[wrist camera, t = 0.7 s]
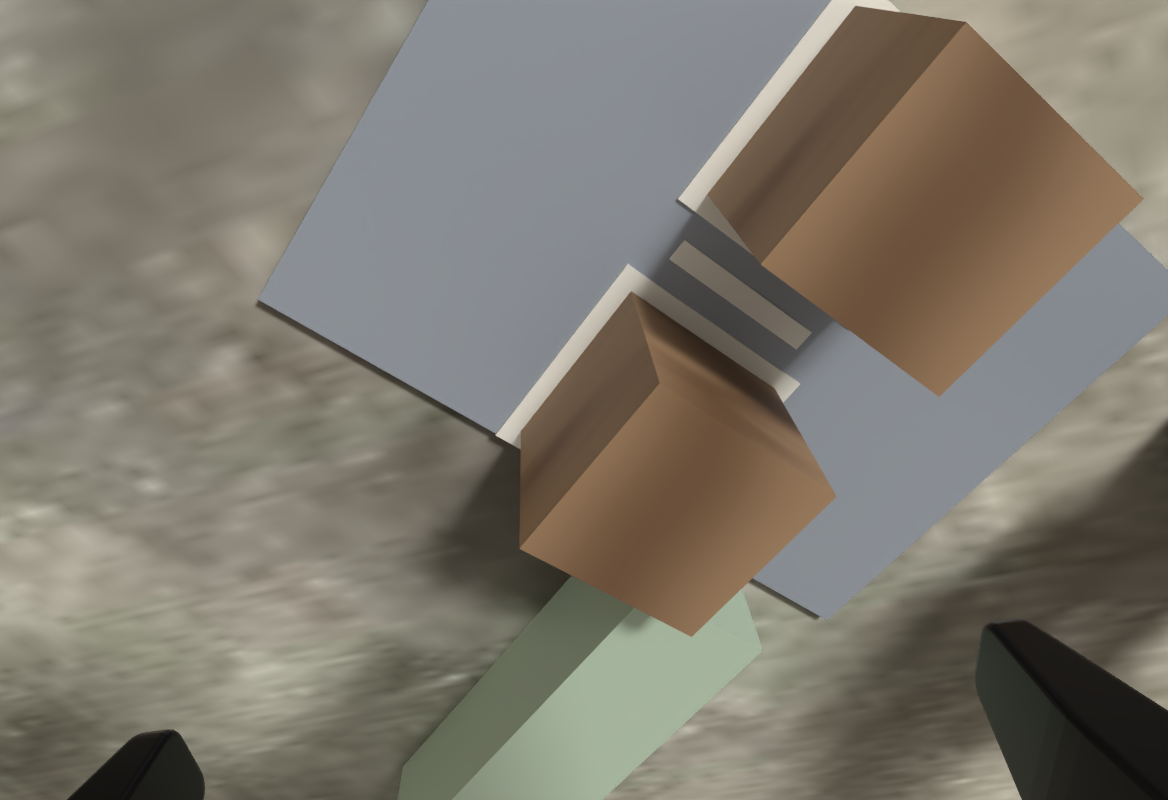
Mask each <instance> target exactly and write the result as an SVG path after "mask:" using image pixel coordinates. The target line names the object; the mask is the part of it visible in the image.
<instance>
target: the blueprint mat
mask: <svg viewBox="0 0 1168 800" xmlns="http://www.w3.org/2000/svg"><path fill="white" fill-rule="evenodd" d="M855 6H861V7H868V8H875V9H881V10H888V11H895V12H900V11H899V10H898V9H897V8H896V7H895V6H894V5H893V4H892V3H891V2H890V1H889V0H428V2H427V4H426V5H425V7H424V9H423V11H422V12H421V14H420V16H419V18H418V19H417V21H416V23H415V25H414V26H413V28H412V30H411V32H410V33H409V35H408V37H407V39H406V40H405V42H404V44H403V46H402V47H401V49H400V51H399V53H398V54H397V56H396V58H395V60H394V62H393V63H392V65H391V67H390V69H389V70H388V72H387V74H386V76H385V77H384V79H383V81H382V83H381V84H380V86H379V88H378V90H377V91H376V93H375V95H374V97H373V98H372V100H371V102H370V104H369V105H368V107H367V109H366V111H365V112H364V114H363V116H362V118H361V119H360V121H359V123H358V125H357V126H356V128H355V130H354V132H353V133H352V135H351V137H350V139H349V140H348V142H347V144H346V146H345V147H344V149H343V151H342V153H341V154H340V156H339V158H338V160H337V161H336V163H335V165H334V167H333V168H332V170H331V172H330V174H329V176H328V177H327V179H326V181H325V183H324V184H323V186H322V188H321V190H320V191H319V193H318V195H317V197H316V198H315V200H314V202H313V204H312V205H311V207H310V209H309V211H308V212H307V214H306V216H305V218H304V219H303V221H302V223H301V225H300V226H299V228H298V230H297V232H296V233H295V235H294V237H293V239H292V240H291V242H290V244H289V246H288V247H287V249H286V251H285V253H284V254H283V256H282V258H281V260H280V261H279V263H278V265H277V267H276V268H275V270H274V272H273V274H272V275H271V277H270V279H269V281H268V282H267V284H266V286H265V288H264V290H263V291H262V293H261V295H260V297H259V298H258V300H260V301H261V302H263V303H265V304H267V305H269V306H270V307H272V308H274V309H276V310H277V311H279V312H281V313H283V314H284V315H286V316H288V317H290V318H292V319H293V320H295V321H297V322H299V323H300V324H302V325H304V326H306V327H308V328H309V329H311V330H313V331H315V332H316V333H318V334H320V335H322V336H324V337H325V338H327V339H329V340H331V341H332V342H334V343H336V344H338V345H339V346H341V347H343V348H345V349H347V350H348V351H350V352H352V353H354V354H355V355H357V356H359V357H361V358H363V359H364V360H366V361H368V362H370V363H371V364H373V365H375V366H377V367H379V368H380V369H382V370H384V371H386V372H387V373H389V374H391V375H393V376H394V377H396V378H398V379H400V380H402V381H403V382H405V383H407V384H409V385H410V386H412V387H414V388H416V389H418V390H419V391H421V392H423V393H425V394H426V395H428V396H430V397H432V398H434V399H435V400H437V401H439V402H441V403H442V404H444V405H446V406H448V407H449V408H451V409H453V410H455V411H457V412H458V413H460V414H462V415H464V416H465V417H467V418H469V419H471V420H473V421H474V422H476V423H478V424H480V425H481V426H483V427H485V428H487V429H489V430H490V431H492V432H494V433H496V436H497V437H499V438H501V439H503V440H505V441H506V442H508V443H510V444H512V445H513V446H515V447H517V448H519V449H521V430H522V429H523V428H524V427H525V425H526V424H527V423H528V422H529V420H530V419H531V418H532V416H533V415H534V414H535V413H536V411H537V410H538V409H539V408H540V406H541V405H542V404H543V402H544V401H545V400H546V399H547V397H548V396H549V395H550V394H551V392H552V391H553V390H554V388H555V387H556V386H557V385H558V383H559V382H560V381H561V380H562V378H563V377H564V376H565V374H566V373H567V372H568V371H569V369H570V368H571V367H572V366H573V364H574V363H575V362H576V360H577V359H578V358H579V357H580V355H581V354H582V353H583V352H584V350H585V349H586V348H587V346H588V345H589V344H590V343H591V341H592V340H593V339H594V338H595V336H596V335H597V334H598V332H599V331H600V330H601V329H602V327H603V326H604V325H605V324H606V322H607V321H608V320H609V318H610V317H611V316H612V315H613V313H614V312H615V311H616V310H617V308H618V307H619V306H620V304H621V303H622V302H623V301H624V299H625V298H626V297H627V296H628V294H629V293H630V292H631V291H632V292H633V293H635V294H636V295H638V296H639V297H641V298H642V299H644V300H645V301H647V302H648V303H649V304H651V305H652V306H654V307H655V308H657V309H658V310H660V311H661V312H663V313H664V314H666V315H667V316H669V317H670V318H672V319H673V320H675V321H676V322H677V323H679V324H680V325H682V326H683V327H685V328H686V329H688V330H689V331H691V332H692V333H694V334H695V335H697V336H698V337H700V338H701V339H703V340H704V341H705V342H707V343H708V344H710V345H711V346H713V347H714V348H716V349H717V350H719V351H720V352H722V353H723V354H725V355H726V356H728V357H729V358H731V359H732V360H733V361H735V362H736V363H738V364H739V365H741V366H742V367H744V368H745V369H747V370H748V371H750V372H751V373H753V374H754V375H756V376H757V377H759V378H760V379H761V380H763V381H764V382H766V383H767V384H769V385H770V386H772V387H773V388H775V390H776V391H777V393H778V395H779V397H780V398H781V400H782V402H783V404H784V405H785V407H786V409H787V411H788V412H789V414H790V416H791V418H792V419H793V421H794V423H795V425H796V426H797V428H798V430H799V432H800V433H801V435H802V437H803V439H804V440H805V442H806V444H807V446H808V447H809V449H810V451H811V453H812V454H813V456H814V458H815V459H816V461H817V463H818V465H819V466H820V468H821V470H822V472H823V473H824V475H825V477H826V479H827V480H828V482H829V484H830V486H831V487H832V489H833V491H834V493H835V494H836V496H837V497H836V498H835V499H834V500H833V501H832V502H830V503H829V504H828V505H827V506H826V507H825V508H824V509H823V510H822V511H821V512H820V513H819V514H818V515H817V516H816V517H815V518H814V519H813V520H812V521H811V522H810V523H809V524H808V525H807V526H806V527H805V528H804V529H803V530H802V531H801V532H800V533H799V534H797V535H796V536H795V537H794V538H793V539H792V540H791V541H790V542H789V543H788V544H787V545H786V546H785V547H784V548H783V549H782V550H781V551H780V552H779V553H778V554H777V555H776V556H775V557H774V558H773V559H772V560H771V561H770V562H769V563H768V564H767V565H766V566H764V567H763V568H762V569H761V570H760V571H759V572H758V573H757V574H756V575H755V576H754V577H753V579H755V580H756V581H758V582H760V583H762V584H764V585H765V586H767V587H769V588H771V589H772V590H774V591H776V592H778V593H779V594H781V595H783V596H785V597H787V598H788V599H790V600H792V601H794V602H795V603H797V604H799V605H801V606H803V607H804V608H806V609H808V610H810V611H811V612H813V613H815V614H817V615H819V616H820V617H822V618H824V619H826V620H828V619H829V618H830V617H831V616H832V615H833V614H835V613H836V612H837V611H838V610H839V609H840V608H841V607H842V606H844V605H845V604H846V603H847V602H848V601H849V600H850V599H851V598H852V597H854V596H855V595H856V594H857V593H858V592H859V591H860V590H861V589H863V588H864V587H865V586H866V585H867V584H868V583H869V582H870V581H871V580H873V579H874V578H875V577H876V576H877V575H878V574H879V573H880V572H882V571H883V570H884V569H885V568H886V567H887V566H888V565H889V564H890V563H892V562H893V561H894V560H895V559H896V558H897V557H898V556H899V555H900V554H902V553H903V552H904V551H905V550H906V549H907V548H908V547H909V546H911V545H912V544H913V543H914V542H915V541H916V540H917V539H918V538H919V537H921V536H922V535H923V534H924V533H925V532H926V531H927V530H928V529H930V528H931V527H932V526H933V525H934V524H935V523H936V522H937V521H938V520H940V519H941V518H942V517H943V516H944V515H945V514H946V513H947V512H949V511H950V510H951V509H952V508H953V507H954V506H955V505H956V504H957V503H959V502H960V501H961V500H962V499H963V498H964V497H965V496H966V495H967V494H969V493H970V492H971V491H972V490H973V489H974V488H975V487H976V486H978V485H979V484H980V483H981V482H982V481H983V480H984V479H985V478H986V477H988V476H989V475H990V474H991V473H992V472H993V471H994V470H995V469H997V468H998V467H999V466H1000V465H1001V464H1002V463H1003V462H1004V461H1005V460H1007V459H1008V458H1009V457H1010V456H1011V455H1012V454H1013V453H1014V452H1016V451H1017V450H1018V449H1019V448H1020V447H1021V446H1022V445H1023V444H1024V443H1026V442H1027V441H1028V440H1029V439H1030V438H1031V437H1032V436H1033V435H1035V434H1036V433H1037V432H1038V431H1039V430H1040V429H1041V428H1042V427H1043V426H1045V425H1046V424H1047V423H1048V422H1049V421H1050V420H1051V419H1052V418H1053V417H1055V416H1056V415H1057V414H1058V413H1059V412H1060V411H1061V410H1062V409H1064V408H1065V407H1066V406H1067V405H1068V404H1069V403H1070V402H1071V401H1072V400H1074V399H1075V398H1076V397H1077V396H1078V395H1079V394H1080V393H1081V392H1083V391H1084V390H1085V389H1086V388H1087V387H1088V386H1089V385H1090V384H1091V383H1093V382H1094V381H1095V380H1096V379H1097V378H1098V377H1099V376H1100V375H1102V374H1103V373H1104V372H1105V371H1106V370H1107V369H1108V368H1109V367H1110V366H1112V365H1113V364H1114V363H1115V362H1116V361H1117V360H1118V359H1119V358H1120V357H1122V356H1123V355H1124V354H1125V353H1126V352H1127V351H1128V350H1129V349H1131V348H1132V347H1133V346H1134V345H1135V344H1136V343H1137V342H1138V341H1139V340H1141V339H1142V338H1143V337H1144V336H1145V335H1146V334H1147V333H1148V332H1150V331H1151V330H1152V329H1153V328H1154V327H1155V326H1156V325H1157V324H1158V323H1160V322H1161V321H1162V320H1163V319H1164V318H1165V317H1166V316H1167V315H1168V270H1167V269H1166V268H1165V267H1164V266H1163V265H1162V264H1161V263H1160V262H1159V261H1157V260H1156V259H1155V258H1154V257H1153V256H1152V255H1151V254H1150V253H1149V252H1148V251H1147V250H1146V249H1145V248H1144V247H1143V246H1142V245H1141V244H1140V243H1139V242H1138V241H1137V240H1136V239H1135V238H1134V237H1132V236H1131V235H1130V234H1129V233H1128V232H1127V231H1126V230H1125V229H1124V228H1123V227H1122V226H1121V225H1120V224H1119V223H1118V224H1117V225H1116V226H1115V227H1114V228H1113V229H1112V230H1111V231H1110V232H1109V233H1108V234H1107V235H1106V236H1105V237H1104V238H1103V239H1102V240H1101V241H1100V242H1099V243H1098V244H1096V245H1095V246H1094V247H1093V248H1092V249H1091V250H1090V251H1089V252H1088V253H1087V254H1086V255H1085V256H1084V257H1083V258H1082V259H1081V260H1080V261H1079V262H1078V263H1077V264H1076V265H1075V266H1074V267H1073V268H1072V269H1071V270H1070V271H1069V272H1068V273H1067V274H1066V275H1065V276H1064V277H1062V278H1061V279H1060V280H1059V281H1058V282H1057V283H1056V284H1055V285H1054V286H1053V287H1052V288H1051V289H1050V290H1049V291H1048V292H1047V293H1046V294H1045V295H1044V296H1043V297H1042V298H1041V299H1040V300H1039V301H1038V302H1037V303H1036V304H1035V305H1034V306H1033V307H1032V308H1031V309H1029V310H1028V311H1027V312H1026V313H1025V314H1024V315H1023V316H1022V317H1021V318H1020V319H1019V320H1018V321H1017V322H1016V323H1015V324H1014V325H1013V326H1012V327H1011V328H1010V329H1009V330H1008V331H1007V332H1006V333H1005V334H1004V335H1003V336H1002V337H1001V338H1000V339H999V340H998V341H996V342H995V343H994V344H993V345H992V346H991V347H990V348H989V349H988V350H987V351H986V352H985V353H984V354H983V355H982V356H981V357H980V358H979V359H978V360H977V361H976V362H975V363H974V364H973V365H972V366H971V367H970V368H969V369H968V370H967V371H966V372H965V373H963V374H962V375H961V376H960V377H959V378H958V379H957V380H956V381H955V382H954V383H953V384H952V385H951V386H950V387H949V388H948V389H947V390H946V391H945V392H944V393H943V394H942V395H941V396H940V397H938V396H937V395H936V394H934V393H933V392H932V391H930V390H929V389H927V388H926V387H925V386H923V385H922V384H921V383H919V382H918V381H917V380H915V379H914V378H913V377H911V376H910V375H909V374H907V373H906V372H905V371H903V370H902V369H901V368H899V367H898V366H897V365H895V364H894V363H892V362H891V361H890V360H888V359H887V358H886V357H884V356H883V355H882V354H880V353H879V352H878V351H876V350H875V349H874V348H872V347H871V346H870V345H868V344H867V343H866V342H864V341H863V340H862V339H860V338H859V337H858V336H856V335H855V334H853V333H852V332H851V331H849V330H848V329H847V328H845V327H844V326H843V325H841V324H840V323H839V322H837V321H836V320H835V319H833V318H832V317H831V316H829V315H828V314H827V313H825V312H824V311H823V310H821V309H820V308H819V307H817V306H816V305H814V304H813V303H812V302H810V301H809V300H808V299H806V298H805V297H804V296H802V295H801V294H800V293H798V292H797V291H796V290H794V289H793V288H792V287H790V286H789V285H788V284H786V283H785V282H784V281H782V280H781V279H780V278H778V277H777V276H775V275H774V274H773V273H771V272H770V271H769V270H767V269H766V268H765V267H763V266H762V265H761V264H760V263H759V262H758V260H757V259H756V258H755V256H754V255H753V254H752V252H751V251H750V250H749V248H748V247H747V246H746V245H745V243H744V242H743V241H742V239H741V238H740V237H739V235H738V234H737V233H736V231H735V230H734V229H733V227H732V226H731V225H730V223H729V222H728V221H727V219H726V218H725V217H724V216H723V214H722V213H721V212H720V210H719V209H718V208H717V206H716V205H715V204H714V202H713V201H712V200H711V198H710V197H709V196H708V193H709V191H710V190H711V189H712V187H713V186H714V185H715V184H716V182H717V181H718V180H719V179H720V177H721V176H722V175H723V173H724V172H725V171H726V170H727V168H728V167H729V166H730V165H731V163H732V162H733V161H734V160H735V158H736V157H737V156H738V154H739V153H740V152H741V151H742V149H743V148H744V147H745V146H746V144H747V143H748V142H749V140H750V139H751V138H752V137H753V135H754V134H755V133H756V132H757V130H758V129H759V128H760V126H761V125H762V124H763V123H764V121H765V120H766V119H767V118H768V116H769V115H770V114H771V112H772V111H773V110H774V109H775V107H776V106H777V105H778V104H779V102H780V101H781V100H782V98H783V97H784V96H785V95H786V93H787V92H788V91H789V90H790V88H791V87H792V86H793V84H794V83H795V82H796V81H797V79H798V78H799V77H800V76H801V74H802V73H803V72H804V70H805V69H806V68H807V67H808V65H809V64H810V63H811V62H812V60H813V59H814V58H815V56H816V55H817V54H818V53H819V51H820V50H821V49H822V48H823V46H824V45H825V44H826V42H827V41H828V40H829V39H830V37H831V36H832V35H833V34H834V32H835V31H836V30H837V29H838V27H839V26H840V25H841V23H842V22H843V21H844V20H845V18H846V17H847V16H848V15H849V13H850V12H851V11H852V9H853V8H854V7H855Z"/></svg>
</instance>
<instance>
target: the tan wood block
mask: <svg viewBox="0 0 1168 800" xmlns="http://www.w3.org/2000/svg"><path fill="white" fill-rule="evenodd" d="M836 497H837V496H836V494H835V493H834V491H833V489H832V487H831V486H830V484H829V482H828V480H827V479H826V477H825V475H824V473H823V472H822V470H821V468H820V466H819V465H818V463H817V461H816V459H815V458H814V456H813V454H812V453H811V451H810V449H809V447H808V446H807V444H806V442H805V440H804V439H803V437H802V435H801V433H800V432H799V430H798V428H797V426H796V425H795V423H794V421H793V419H792V418H791V416H790V414H789V412H788V411H787V409H786V407H785V405H784V404H783V402H782V400H781V398H780V397H779V395H778V393H777V391H776V390H775V388H773V387H772V386H770V385H769V384H767V383H766V382H764V381H763V380H761V379H760V378H759V377H757V376H756V375H754V374H753V373H751V372H750V371H748V370H747V369H745V368H744V367H742V366H741V365H739V364H738V363H736V362H735V361H733V360H732V359H731V358H729V357H728V356H726V355H725V354H723V353H722V352H720V351H719V350H717V349H716V348H714V347H713V346H711V345H710V344H708V343H707V342H705V341H704V340H703V339H701V338H700V337H698V336H697V335H695V334H694V333H692V332H691V331H689V330H688V329H686V328H685V327H683V326H682V325H680V324H679V323H677V322H676V321H675V320H673V319H672V318H670V317H669V316H667V315H666V314H664V313H663V312H661V311H660V310H658V309H657V308H655V307H654V306H652V305H651V304H649V303H648V302H647V301H645V300H644V299H642V298H641V297H639V296H638V295H636V294H635V293H633V292H632V291H631V292H630V293H629V294H628V296H627V297H626V298H625V299H624V301H623V302H622V303H621V304H620V306H619V307H618V308H617V310H616V311H615V312H614V313H613V315H612V316H611V317H610V318H609V320H608V321H607V322H606V324H605V325H604V326H603V327H602V329H601V330H600V331H599V332H598V334H597V335H596V336H595V338H594V339H593V340H592V341H591V343H590V344H589V345H588V346H587V348H586V349H585V350H584V352H583V353H582V354H581V355H580V357H579V358H578V359H577V360H576V362H575V363H574V364H573V366H572V367H571V368H570V369H569V371H568V372H567V373H566V374H565V376H564V377H563V378H562V380H561V381H560V382H559V383H558V385H557V386H556V387H555V388H554V390H553V391H552V392H551V394H550V395H549V396H548V397H547V399H546V400H545V401H544V402H543V404H542V405H541V406H540V408H539V409H538V410H537V411H536V413H535V414H534V415H533V416H532V418H531V419H530V420H529V422H528V423H527V424H526V425H525V427H524V428H523V429H522V430H521V457H520V533H519V549H521V550H523V551H525V552H527V553H529V554H531V555H532V556H534V557H536V558H538V559H540V560H542V561H544V562H546V563H548V564H550V565H552V566H554V567H556V568H558V569H560V570H562V571H564V572H566V573H568V574H570V575H571V576H573V577H575V578H577V579H579V580H581V581H583V582H585V583H587V584H589V585H591V586H593V587H595V588H597V589H599V590H601V591H603V592H605V593H607V594H609V595H610V596H612V597H614V598H616V599H618V600H620V601H622V602H624V603H626V604H628V605H630V606H632V607H634V608H636V609H638V610H640V611H642V612H644V613H646V614H648V615H649V616H651V617H653V618H655V619H657V620H659V621H661V622H663V623H665V624H667V625H669V626H671V627H673V628H675V629H677V630H679V631H681V632H683V633H685V634H687V635H688V636H690V637H692V636H693V635H694V634H695V633H696V632H697V631H699V630H700V629H701V628H702V627H703V626H704V625H705V624H706V623H707V622H708V621H709V620H710V619H711V618H712V617H713V616H714V615H715V614H716V613H717V612H718V611H719V610H720V609H721V608H722V607H723V606H724V605H725V604H726V603H727V602H728V601H729V600H730V599H732V598H733V597H734V596H735V595H736V594H737V593H738V592H739V591H740V590H741V589H742V588H743V587H744V586H745V585H746V584H747V583H748V582H749V581H750V580H751V579H752V578H753V577H754V576H755V575H756V574H757V573H758V572H759V571H760V570H761V569H762V568H763V567H764V566H766V565H767V564H768V563H769V562H770V561H771V560H772V559H773V558H774V557H775V556H776V555H777V554H778V553H779V552H780V551H781V550H782V549H783V548H784V547H785V546H786V545H787V544H788V543H789V542H790V541H791V540H792V539H793V538H794V537H795V536H796V535H797V534H799V533H800V532H801V531H802V530H803V529H804V528H805V527H806V526H807V525H808V524H809V523H810V522H811V521H812V520H813V519H814V518H815V517H816V516H817V515H818V514H819V513H820V512H821V511H822V510H823V509H824V508H825V507H826V506H827V505H828V504H829V503H830V502H832V501H833V500H834V499H835V498H836Z"/></svg>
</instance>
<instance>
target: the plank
mask: <svg viewBox="0 0 1168 800" xmlns="http://www.w3.org/2000/svg"><path fill="white" fill-rule="evenodd" d="M762 651H763V649H762V646H761V644H760V641H759V638H758V635H757V632H756V629H755V626H754V623H753V620H752V617H751V614H750V611H749V608H748V605H747V602H746V599H745V596H744V593H743V590H742V589H741V590H740V591H739V592H738V593H737V594H736V595H735V596H734V597H733V598H732V599H730V600H729V601H728V602H727V603H726V604H725V605H724V606H723V607H722V608H721V609H720V610H719V611H718V612H717V613H716V614H715V615H714V616H713V617H712V618H711V619H710V620H709V621H708V622H707V623H706V624H705V625H704V626H703V627H702V628H701V629H700V630H699V631H697V632H696V633H695V634H694V635H693V636H692V637H690V636H688V635H687V634H685V633H683V632H681V631H679V630H677V629H675V628H673V627H671V626H669V625H667V624H665V623H663V622H661V621H659V620H657V619H655V618H653V617H651V616H649V615H648V614H646V613H644V612H642V611H640V610H638V609H636V608H634V607H632V606H630V605H628V604H626V603H624V602H622V601H620V600H618V599H616V598H614V597H612V596H610V595H609V594H607V593H605V592H603V591H601V590H599V589H597V588H595V587H593V586H591V585H589V584H587V583H585V582H583V581H581V580H579V579H577V578H575V577H573V576H571V577H570V578H569V579H568V580H567V581H566V582H565V584H564V585H563V586H562V587H561V588H560V589H559V590H558V592H557V593H556V594H555V595H554V596H553V597H552V598H551V599H550V601H549V602H548V603H547V604H546V605H545V606H544V607H543V609H542V610H541V611H540V612H539V613H538V614H537V615H536V616H535V618H534V619H533V620H532V621H531V622H530V623H529V624H528V625H527V627H526V628H525V629H524V630H523V631H522V632H521V633H520V635H519V636H518V637H517V638H516V639H515V640H514V641H513V642H512V644H511V645H510V646H509V647H508V648H507V649H506V650H505V651H504V653H503V654H502V655H501V656H500V657H499V658H498V659H497V661H496V662H495V663H494V664H493V665H492V666H491V667H490V668H489V670H488V671H487V672H486V673H485V674H484V675H483V676H482V678H481V679H480V680H479V681H478V682H477V683H476V684H475V685H474V687H473V688H472V689H471V690H470V691H469V692H468V693H467V694H466V696H465V697H464V698H463V699H462V700H461V701H460V702H459V704H458V705H457V706H456V707H455V708H454V709H453V710H452V711H451V713H450V714H449V715H448V716H447V717H446V718H445V719H444V721H443V722H442V723H441V724H440V725H439V726H438V727H437V728H436V730H435V731H434V732H433V733H432V734H431V735H430V736H429V737H428V739H427V740H426V741H425V742H424V743H423V744H422V745H421V747H420V748H419V749H418V750H417V751H416V752H415V753H414V754H413V756H412V757H411V758H410V759H409V760H408V761H407V762H406V764H405V765H404V766H403V768H402V775H401V781H400V788H399V794H398V800H602V799H603V798H604V797H606V796H607V795H608V794H609V793H610V792H611V791H612V790H613V789H614V788H615V787H616V786H617V785H618V784H620V783H621V782H622V781H623V780H624V779H625V778H626V777H627V776H628V775H629V774H630V773H631V772H632V771H634V770H635V769H636V768H637V767H638V766H639V765H640V764H641V763H642V762H643V761H644V760H645V759H646V758H648V757H649V756H650V755H651V754H652V753H653V752H654V751H655V750H656V749H657V748H658V747H659V746H660V745H662V744H663V743H664V742H665V741H666V740H667V739H668V738H669V737H670V736H671V735H672V734H673V733H674V732H676V731H677V730H678V729H679V728H680V727H681V726H682V725H683V724H684V723H685V722H686V721H687V720H688V719H690V718H691V717H692V716H693V715H694V714H695V713H696V712H697V711H698V710H699V709H700V708H701V707H702V706H704V705H705V704H706V703H707V702H708V701H709V700H710V699H711V698H712V697H713V696H714V695H715V694H716V693H717V692H719V691H720V690H721V689H722V688H723V687H724V686H725V685H726V684H727V683H728V682H729V681H730V680H731V679H733V678H734V677H735V676H736V675H737V674H738V673H739V672H740V671H741V670H742V669H743V668H744V667H745V666H747V665H748V664H749V663H750V662H751V661H752V660H753V659H754V658H755V657H756V656H757V655H758V654H759V653H761V652H762Z"/></svg>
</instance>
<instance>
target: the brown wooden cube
mask: <svg viewBox="0 0 1168 800" xmlns="http://www.w3.org/2000/svg"><path fill="white" fill-rule="evenodd" d="M708 196H709V197H710V198H711V200H712V201H713V202H714V204H715V205H716V206H717V208H718V209H719V210H720V212H721V213H722V214H723V216H724V217H725V218H726V219H727V221H728V222H729V223H730V225H731V226H732V227H733V229H734V230H735V231H736V233H737V234H738V235H739V237H740V238H741V239H742V241H743V242H744V243H745V245H746V246H747V247H748V248H749V250H750V251H751V252H752V254H753V255H754V256H755V258H756V259H757V260H758V262H759V263H760V264H761V265H762V266H763V267H765V268H766V269H767V270H769V271H770V272H771V273H773V274H774V275H775V276H777V277H778V278H780V279H781V280H782V281H784V282H785V283H786V284H788V285H789V286H790V287H792V288H793V289H794V290H796V291H797V292H798V293H800V294H801V295H802V296H804V297H805V298H806V299H808V300H809V301H810V302H812V303H813V304H814V305H816V306H817V307H819V308H820V309H821V310H823V311H824V312H825V313H827V314H828V315H829V316H831V317H832V318H833V319H835V320H836V321H837V322H839V323H840V324H841V325H843V326H844V327H845V328H847V329H848V330H849V331H851V332H852V333H853V334H855V335H856V336H858V337H859V338H860V339H862V340H863V341H864V342H866V343H867V344H868V345H870V346H871V347H872V348H874V349H875V350H876V351H878V352H879V353H880V354H882V355H883V356H884V357H886V358H887V359H888V360H890V361H891V362H892V363H894V364H895V365H897V366H898V367H899V368H901V369H902V370H903V371H905V372H906V373H907V374H909V375H910V376H911V377H913V378H914V379H915V380H917V381H918V382H919V383H921V384H922V385H923V386H925V387H926V388H927V389H929V390H930V391H932V392H933V393H934V394H936V395H937V396H938V397H940V396H941V395H942V394H943V393H944V392H945V391H946V390H947V389H948V388H949V387H950V386H951V385H952V384H953V383H954V382H955V381H956V380H957V379H958V378H959V377H960V376H961V375H962V374H963V373H965V372H966V371H967V370H968V369H969V368H970V367H971V366H972V365H973V364H974V363H975V362H976V361H977V360H978V359H979V358H980V357H981V356H982V355H983V354H984V353H985V352H986V351H987V350H988V349H989V348H990V347H991V346H992V345H993V344H994V343H995V342H996V341H998V340H999V339H1000V338H1001V337H1002V336H1003V335H1004V334H1005V333H1006V332H1007V331H1008V330H1009V329H1010V328H1011V327H1012V326H1013V325H1014V324H1015V323H1016V322H1017V321H1018V320H1019V319H1020V318H1021V317H1022V316H1023V315H1024V314H1025V313H1026V312H1027V311H1028V310H1029V309H1031V308H1032V307H1033V306H1034V305H1035V304H1036V303H1037V302H1038V301H1039V300H1040V299H1041V298H1042V297H1043V296H1044V295H1045V294H1046V293H1047V292H1048V291H1049V290H1050V289H1051V288H1052V287H1053V286H1054V285H1055V284H1056V283H1057V282H1058V281H1059V280H1060V279H1061V278H1062V277H1064V276H1065V275H1066V274H1067V273H1068V272H1069V271H1070V270H1071V269H1072V268H1073V267H1074V266H1075V265H1076V264H1077V263H1078V262H1079V261H1080V260H1081V259H1082V258H1083V257H1084V256H1085V255H1086V254H1087V253H1088V252H1089V251H1090V250H1091V249H1092V248H1093V247H1094V246H1095V245H1096V244H1098V243H1099V242H1100V241H1101V240H1102V239H1103V238H1104V237H1105V236H1106V235H1107V234H1108V233H1109V232H1110V231H1111V230H1112V229H1113V228H1114V227H1115V226H1116V225H1117V224H1118V223H1119V222H1120V221H1121V220H1122V219H1123V218H1124V217H1125V216H1126V215H1127V214H1128V213H1129V212H1131V211H1132V210H1133V209H1134V208H1135V207H1136V206H1137V205H1138V204H1139V203H1140V202H1141V201H1142V200H1143V198H1142V197H1141V196H1140V195H1139V194H1138V193H1137V192H1136V191H1135V190H1134V189H1133V188H1132V187H1131V186H1130V185H1129V184H1128V183H1127V182H1126V181H1125V180H1124V179H1123V178H1122V177H1121V176H1120V175H1119V174H1118V173H1117V172H1116V171H1115V170H1114V169H1113V168H1112V167H1111V166H1110V165H1109V164H1108V163H1107V162H1106V161H1105V160H1104V159H1103V158H1102V157H1101V156H1100V155H1099V154H1098V153H1097V152H1096V151H1095V150H1094V149H1093V148H1092V147H1091V146H1090V145H1089V144H1088V143H1087V142H1086V141H1085V140H1084V139H1083V138H1082V137H1081V136H1080V135H1079V134H1078V133H1077V132H1076V131H1075V130H1074V129H1073V128H1072V127H1071V126H1070V125H1069V124H1068V123H1067V122H1066V121H1065V120H1064V119H1063V118H1062V117H1061V116H1060V115H1059V114H1058V113H1057V112H1056V111H1055V110H1054V109H1053V108H1052V107H1051V106H1050V105H1049V104H1048V103H1047V102H1046V101H1045V100H1044V99H1043V98H1042V97H1041V96H1040V95H1039V94H1038V93H1037V92H1036V91H1035V90H1034V89H1033V88H1032V87H1031V86H1030V85H1029V84H1028V83H1027V82H1026V81H1025V80H1024V79H1023V78H1022V77H1021V76H1020V75H1019V74H1018V73H1017V72H1016V71H1015V70H1014V69H1013V68H1012V67H1011V66H1010V65H1009V64H1008V63H1007V62H1006V61H1005V60H1004V59H1003V58H1002V57H1001V56H1000V55H999V54H998V53H997V52H996V51H995V50H994V49H993V48H992V47H991V46H990V45H989V44H988V43H987V42H986V41H985V40H984V39H983V38H982V37H981V36H980V35H979V34H978V33H977V32H976V31H975V30H974V29H973V28H972V27H971V26H970V25H969V24H968V23H967V22H962V21H955V20H948V19H942V18H935V17H928V16H922V15H915V14H908V13H901V12H895V11H888V10H881V9H875V8H868V7H861V6H855V7H854V8H853V9H852V11H851V12H850V13H849V15H848V16H847V17H846V18H845V20H844V21H843V22H842V23H841V25H840V26H839V27H838V29H837V30H836V31H835V32H834V34H833V35H832V36H831V37H830V39H829V40H828V41H827V42H826V44H825V45H824V46H823V48H822V49H821V50H820V51H819V53H818V54H817V55H816V56H815V58H814V59H813V60H812V62H811V63H810V64H809V65H808V67H807V68H806V69H805V70H804V72H803V73H802V74H801V76H800V77H799V78H798V79H797V81H796V82H795V83H794V84H793V86H792V87H791V88H790V90H789V91H788V92H787V93H786V95H785V96H784V97H783V98H782V100H781V101H780V102H779V104H778V105H777V106H776V107H775V109H774V110H773V111H772V112H771V114H770V115H769V116H768V118H767V119H766V120H765V121H764V123H763V124H762V125H761V126H760V128H759V129H758V130H757V132H756V133H755V134H754V135H753V137H752V138H751V139H750V140H749V142H748V143H747V144H746V146H745V147H744V148H743V149H742V151H741V152H740V153H739V154H738V156H737V157H736V158H735V160H734V161H733V162H732V163H731V165H730V166H729V167H728V168H727V170H726V171H725V172H724V173H723V175H722V176H721V177H720V179H719V180H718V181H717V182H716V184H715V185H714V186H713V187H712V189H711V190H710V191H709V193H708Z"/></svg>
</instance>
